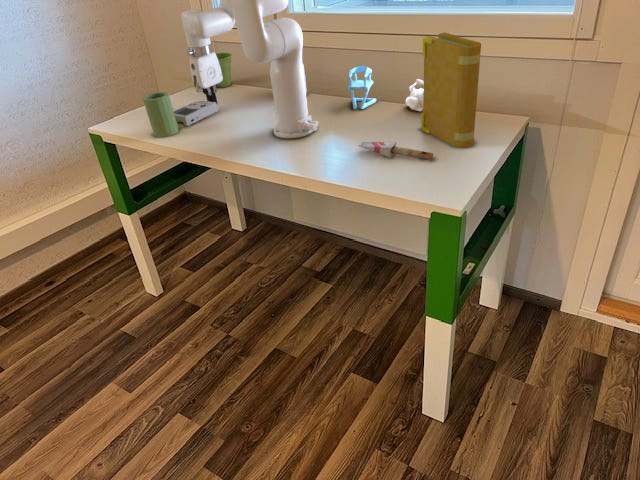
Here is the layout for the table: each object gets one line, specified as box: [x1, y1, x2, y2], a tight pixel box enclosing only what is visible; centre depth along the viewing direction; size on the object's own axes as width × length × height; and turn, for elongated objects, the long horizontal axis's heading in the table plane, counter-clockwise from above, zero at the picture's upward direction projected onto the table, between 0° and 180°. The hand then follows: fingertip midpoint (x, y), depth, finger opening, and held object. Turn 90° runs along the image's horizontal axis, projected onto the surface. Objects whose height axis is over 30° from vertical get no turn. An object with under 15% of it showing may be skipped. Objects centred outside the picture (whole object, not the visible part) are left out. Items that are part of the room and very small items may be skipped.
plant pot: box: [215, 52, 233, 88], centre depth 193 cm, size 12×12×11 cm
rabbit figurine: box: [405, 78, 424, 112], centre depth 150 cm, size 12×8×10 cm, turn 54°
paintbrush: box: [358, 141, 434, 161], centre depth 127 cm, size 4×3×20 cm
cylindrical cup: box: [142, 91, 179, 138], centre depth 156 cm, size 8×8×12 cm
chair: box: [347, 65, 377, 110], centre depth 158 cm, size 8×8×12 cm
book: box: [420, 32, 482, 149], centre depth 127 cm, size 17×7×25 cm, turn 23°
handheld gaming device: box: [173, 100, 219, 127], centre depth 166 cm, size 9×15×4 cm, turn 146°
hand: (213, 104), depth 172 cm, fingers closed
